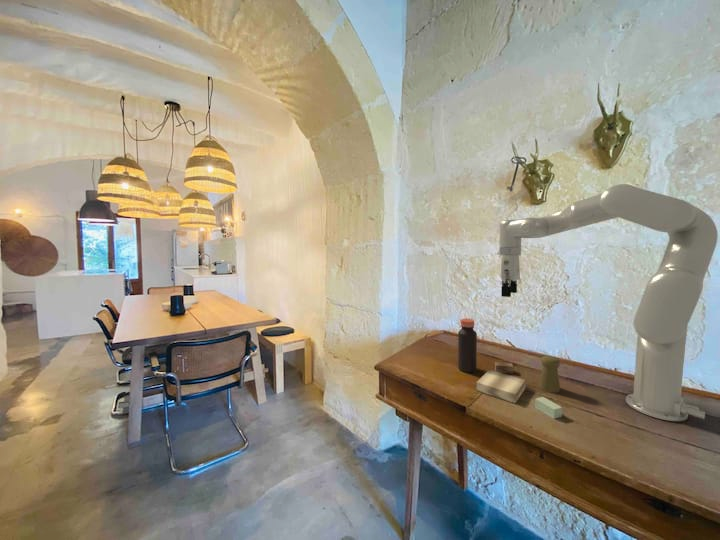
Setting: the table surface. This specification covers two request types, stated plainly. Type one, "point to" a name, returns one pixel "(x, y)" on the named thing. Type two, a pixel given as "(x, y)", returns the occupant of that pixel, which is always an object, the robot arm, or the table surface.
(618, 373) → the table surface
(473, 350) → the bottle
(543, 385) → the cork
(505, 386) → the beech board
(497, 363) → the walnut brick
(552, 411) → the sage brick
